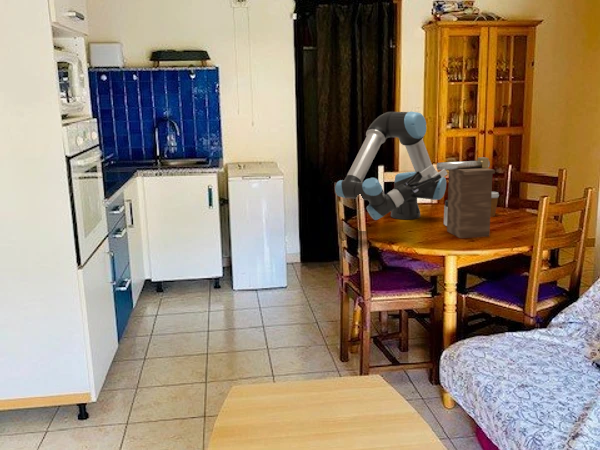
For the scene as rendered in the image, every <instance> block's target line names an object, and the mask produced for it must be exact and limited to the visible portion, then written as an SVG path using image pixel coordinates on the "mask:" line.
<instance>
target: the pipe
mask: <svg viewBox="0 0 600 450" xmlns="http://www.w3.org/2000/svg"><path fill="white" fill-rule="evenodd" d="M490 164H491V163H490V159H489V157H484V156H482V157H481V156H479V157H477V160H469V161H467V160H466V161H447V162H446V161H445V162H437V163H436V171H441V170H443V169H445V170H446V171H448V170H447V169H467V168H488V169H489V167H490Z"/></svg>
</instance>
